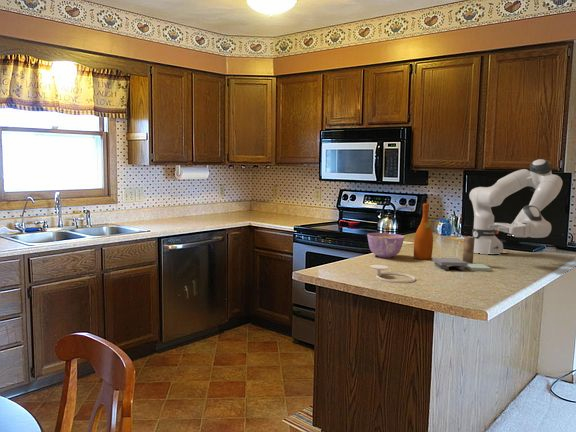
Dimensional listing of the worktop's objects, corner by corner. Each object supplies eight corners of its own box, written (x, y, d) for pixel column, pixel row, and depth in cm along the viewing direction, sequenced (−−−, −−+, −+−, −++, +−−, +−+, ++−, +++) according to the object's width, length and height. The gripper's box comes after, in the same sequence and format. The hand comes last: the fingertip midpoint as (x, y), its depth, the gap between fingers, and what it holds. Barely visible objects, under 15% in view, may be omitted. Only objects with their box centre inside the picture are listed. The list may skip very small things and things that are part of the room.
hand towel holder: (408, 275, 203) (362, 268, 214) (407, 286, 204) (362, 278, 215) (421, 269, 217) (378, 262, 229) (420, 278, 218) (377, 271, 229)
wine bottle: (411, 258, 265) (414, 203, 262) (415, 256, 274) (419, 202, 271) (429, 260, 260) (433, 204, 257) (433, 258, 269) (437, 203, 266)
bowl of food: (393, 261, 255) (394, 239, 253) (359, 256, 267) (360, 234, 265) (409, 256, 271) (410, 235, 269) (376, 251, 283) (377, 231, 281)
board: (482, 266, 249) (482, 264, 249) (491, 271, 239) (491, 268, 239) (462, 266, 249) (463, 263, 249) (471, 270, 239) (471, 267, 239)
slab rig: (456, 265, 250) (457, 257, 250) (467, 271, 237) (468, 263, 237) (431, 265, 249) (432, 257, 249) (441, 270, 236) (441, 262, 236)
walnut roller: (467, 263, 258) (469, 236, 257) (474, 265, 254) (476, 238, 252) (460, 263, 256) (462, 237, 255) (467, 265, 252) (469, 238, 250)
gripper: (509, 220, 265) (484, 219, 264) (530, 225, 244) (503, 224, 243) (508, 232, 265) (483, 231, 264) (529, 237, 245) (502, 236, 244)
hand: (493, 227), depth 254 cm, fingers open, 8 cm apart
